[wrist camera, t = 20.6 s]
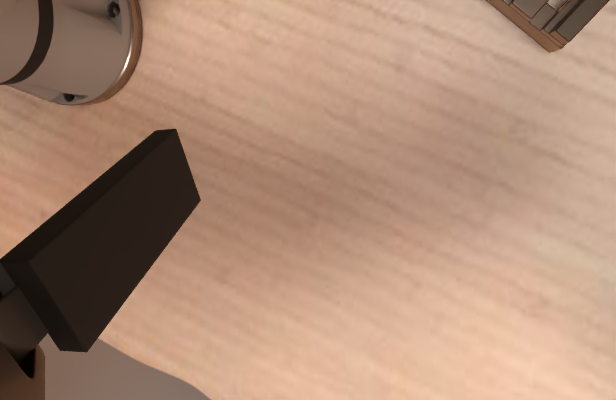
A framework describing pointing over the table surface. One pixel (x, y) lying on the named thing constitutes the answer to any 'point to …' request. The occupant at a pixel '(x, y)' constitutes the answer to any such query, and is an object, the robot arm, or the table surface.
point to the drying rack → (550, 19)
